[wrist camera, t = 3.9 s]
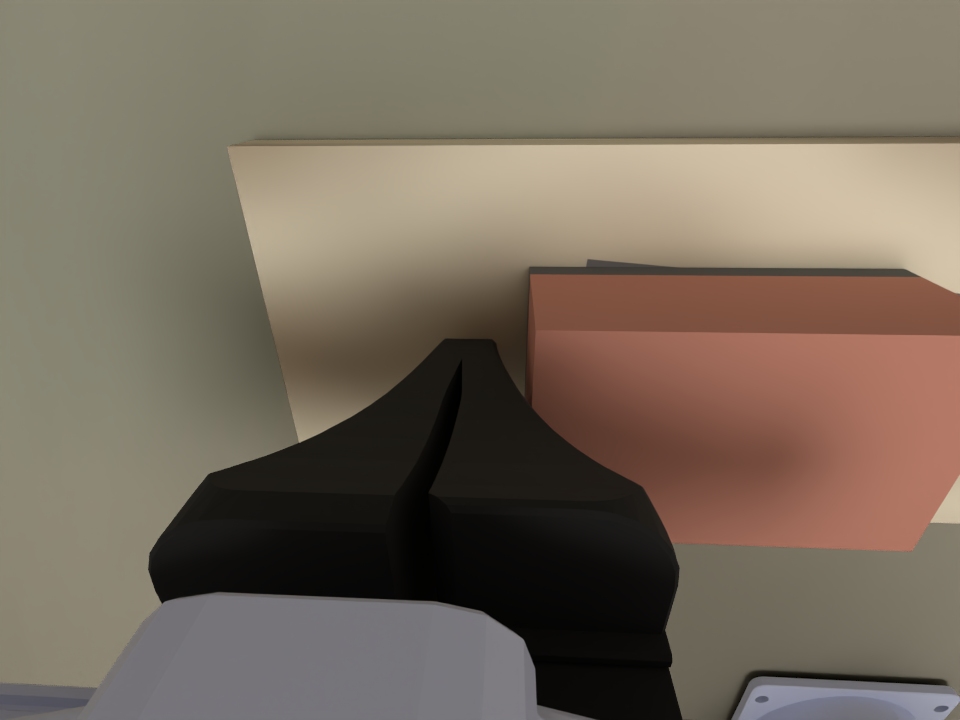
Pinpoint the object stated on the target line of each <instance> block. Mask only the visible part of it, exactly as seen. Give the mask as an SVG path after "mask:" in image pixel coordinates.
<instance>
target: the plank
mask: <svg viewBox="0 0 960 720" xmlns="http://www.w3.org/2000/svg"><path fill="white" fill-rule="evenodd" d="M227 148H228V152H229V156H230V161H231V165H232V169H233V173H234V177H235V181H236V185H237V189H238V193H239V198H240V202H241V206H242V210H243V214H244V218H245V222H246V226H247V230H248V235H249V239H250V243H251V247H252V251H253V255H254V259H255V263H256V267H257V272H258V276H259V280H260V284H261V288H262V292H263V296H264V300H265V304H266V309H267V313H268V317H269V321H270V325H271V329H272V333H273V337H274V341H275V346H276V350H277V354H278V358H279V362H280V366H281V370H282V374H283V378H284V383H285V387H286V391H287V395H288V399H289V403H290V407H291V411H292V415H293V420H294V424H295V428H296V432H297V436H298V440H299V443H300V442H302V441H304V440H307V439H309V438H311V437H313V436H315V435H318V434H320V433H322V432H323V431H325V430H327V429H329V428H331V427H333V426H335V425H337V424H339V423H340V422H342V421H344V420H346V419H348V418H350V417H352V416H353V415H355V414H357V413H358V412H360V411H361V410H363V409H364V408H366V407H367V406H369V405H371V404H372V403H374V402H375V401H376V400H378V399H379V398H381V397H382V396H383V395H385V394H386V393H387V392H389V391H390V390H391V389H392V388H393V387H394V386H396V385H397V384H398V383H399V382H400V381H402V380H403V379H404V378H405V377H406V376H407V375H408V374H410V373H411V372H412V371H413V370H414V369H415V368H416V367H417V366H418V365H419V364H420V363H421V362H422V361H423V360H424V359H425V358H426V357H427V356H428V355H429V354H430V353H431V352H432V351H433V350H434V349H435V348H436V347H437V346H438V345H439V344H440V343H441V342H442V341H443V340H444V339H445V338H449V339H493V340H494V341H495V342H496V343H497V349H498V352H499V355H500V358H501V360H502V362H503V364H504V366H505V368H506V370H507V372H508V373H509V375H510V377H511V378H512V380H513V382H514V383H515V385H516V386H517V388H518V389H519V391H520V392H521V394H522V395H523V396H524V394H525V368H526V342H527V316H528V291H529V267H674V268H839V269H906V270H908V271H910V272H912V273H914V274H916V275H918V276H921V277H923V278H925V279H927V280H929V281H931V282H933V283H935V284H937V285H939V286H941V287H943V288H945V289H947V290H950V291H952V292H954V293H956V294H958V295H960V137H804V138H583V139H363V140H251V141H247V142H243V143H239V144H235V145H230V146H227ZM930 522H931V523H960V475H959V476H958V478H957V480H956V481H955V483H954V485H953V486H952V488H951V489H950V491H949V493H948V494H947V496H946V497H945V499H944V501H943V502H942V504H941V505H940V507H939V509H938V510H937V512H936V513H935V515H934V517H933V518H932V520H931V521H930Z"/></svg>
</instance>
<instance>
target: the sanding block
mask: <svg viewBox="0 0 960 720" xmlns="http://www.w3.org/2000/svg"><path fill="white" fill-rule="evenodd" d="M524 398H525V399H526V401H527V402H528V403H529V404H530V406H531V407H532V408H533V409H534V410H535V412H536V413H537V414H538V415H539V416H540V417H541V418H542V419H543V420H544V421H545V422H546V423H547V424H548V425H549V426H550V427H551V428H552V429H553V430H554V431H555V432H556V433H558V434H559V435H560V436H561V437H563V438H564V439H565V440H566V441H567V442H569V443H570V444H571V445H573V446H574V447H575V448H577V449H578V450H579V451H581V452H582V453H584V454H585V455H587V456H589V457H590V458H592V459H593V460H595V461H596V462H598V463H599V464H601V465H603V466H604V467H606V468H608V469H610V470H612V471H614V472H616V473H618V474H620V475H622V476H623V477H625V478H627V479H629V480H631V481H633V482H635V483H637V484H639V485H641V486H642V487H643V488H644V490H645V491H646V493H647V495H648V497H649V498H650V500H651V502H652V504H653V506H654V507H655V509H656V511H657V513H658V515H659V517H660V519H661V521H662V523H663V525H664V527H665V529H666V531H667V533H668V535H669V538H670V540H671V543H688V544H716V545H744V546H773V547H801V548H830V549H858V550H886V551H912V550H913V549H914V547H915V545H916V544H917V542H918V541H919V539H920V537H921V536H922V534H923V533H924V531H925V529H926V528H927V526H928V525H929V523H930V521H931V520H932V518H933V517H934V515H935V513H936V512H937V510H938V509H939V507H940V505H941V504H942V502H943V501H944V499H945V497H946V496H947V494H948V493H949V491H950V489H951V488H952V486H953V485H954V483H955V481H956V480H957V478H958V476H959V475H960V295H958V294H956V293H954V292H952V291H950V290H947V289H945V288H943V287H941V286H939V285H937V284H935V283H933V282H931V281H929V280H927V279H925V278H923V277H921V276H918V275H916V274H914V273H912V272H910V271H908V270H906V269H839V268H674V267H529V291H528V316H527V342H526V368H525V394H524Z"/></svg>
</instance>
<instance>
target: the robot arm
mask: <svg viewBox="0 0 960 720" xmlns="http://www.w3.org/2000/svg"><path fill="white" fill-rule="evenodd" d="M148 570H149V573H150V576H151V579H152V582H153V585H154V588H155V591H156V593H157V595H158V597H159V599H160V601H161V603H162V605H161V606H160V607H158V608H157V609H156V610H155V611H154V612H153V613H152V614H151V615H150V616H149V617H148V618H146V619H145V620H144V621H143V622H142V624H141V625H140V627H139V628H138V629H137V631H136V632H135V634H134V635H133V637H132V638H131V640H130V641H129V643H128V644H127V646H126V647H125V649H124V650H123V652H122V653H121V655H120V656H119V657H118V659H117V660H116V662H115V663H114V665H113V666H112V668H111V669H110V671H109V672H108V674H107V675H106V677H105V678H104V680H103V681H102V683H101V684H100V686H99V687H98V688H92V687H73V686H55V685H36V684H18V683H0V720H685V719H682V716H681V712H680V709H679V705H678V701H677V697H676V694H675V690H674V686H673V683H672V679H671V675H670V671H669V668H668V667H671V664H672V653H671V649H670V646H669V642H668V639H667V635H666V632H665V629H666V625H667V622H668V618H669V615H670V611H671V608H672V605H673V601H674V598H675V594H676V591H677V587H678V580H679V565H678V562H677V559H676V555H675V552H674V549H673V546H672V543H671V540H670V538H669V535H668V533H667V531H666V529H665V527H664V525H663V523H662V521H661V519H660V517H659V515H658V513H657V511H656V509H655V507H654V506H653V504H652V502H651V500H650V498H649V497H648V495H647V493H646V491H645V490H644V488H643V487H642V486H641V485H639V484H637V483H635V482H633V481H631V480H629V479H627V478H625V477H623V476H622V475H620V474H618V473H616V472H614V471H612V470H610V469H608V468H606V467H604V466H603V465H601V464H599V463H598V462H596V461H595V460H593V459H592V458H590V457H589V456H587V455H585V454H584V453H582V452H581V451H579V450H578V449H577V448H575V447H574V446H573V445H571V444H570V443H569V442H567V441H566V440H565V439H564V438H563V437H561V436H560V435H559V434H558V433H556V432H555V431H554V430H553V429H552V428H551V427H550V426H549V425H548V424H547V423H546V422H545V421H544V420H543V419H542V418H541V417H540V416H539V415H538V414H537V413H536V412H535V410H534V409H533V408H532V407H531V406H530V404H529V403H528V402H527V401H526V399H525V398H524V396H523V395H522V394H521V392H520V391H519V389H518V388H517V386H516V385H515V383H514V382H513V380H512V378H511V377H510V375H509V373H508V372H507V370H506V368H505V366H504V364H503V362H502V360H501V358H500V355H499V352H498V349H497V343H496V342H495V341H494V340H493V339H449V338H445V339H444V340H443V341H442V342H441V343H440V344H439V345H438V346H437V347H436V348H435V349H434V350H433V351H432V352H431V353H430V354H429V355H428V356H427V357H426V358H425V359H424V360H423V361H422V362H421V363H420V364H419V365H418V366H417V367H416V368H415V369H414V370H413V371H412V372H411V373H410V374H408V375H407V376H406V377H405V378H404V379H403V380H402V381H400V382H399V383H398V384H397V385H396V386H394V387H393V388H392V389H391V390H390V391H389V392H387V393H386V394H385V395H383V396H382V397H381V398H379V399H378V400H376V401H375V402H374V403H372V404H371V405H369V406H367V407H366V408H364V409H363V410H361V411H360V412H358V413H357V414H355V415H353V416H352V417H350V418H348V419H346V420H344V421H342V422H340V423H339V424H337V425H335V426H333V427H331V428H329V429H327V430H325V431H323V432H322V433H320V434H318V435H315V436H313V437H311V438H309V439H307V440H304V441H302V442H300V443H298V444H295V445H293V446H290V447H288V448H285V449H283V450H280V451H278V452H275V453H272V454H270V455H267V456H264V457H261V458H258V459H255V460H252V461H249V462H245V463H242V464H239V465H236V466H233V467H230V468H227V469H224V470H220V471H217V472H213V473H210V474H209V475H208V476H207V477H206V478H205V479H204V480H203V482H202V483H201V484H200V485H199V487H198V488H197V489H196V490H195V492H194V493H193V494H192V496H191V497H190V498H189V499H188V501H187V502H186V503H185V505H184V506H183V507H182V509H181V510H180V511H179V513H178V514H177V515H176V517H175V518H174V519H173V520H172V522H171V523H170V524H169V526H168V527H167V528H166V530H165V531H164V532H163V534H162V535H161V536H160V538H159V539H158V540H157V542H156V544H155V545H154V547H153V549H152V550H151V552H150V555H149V567H148ZM959 702H960V697H959V696H958V694H957V693H956V691H955V690H954V689H953V688H951V687H949V686H944V685H924V684H905V683H885V682H865V681H845V680H825V679H805V678H785V677H766V676H762V677H756V678H754V679H752V680H751V681H750V682H749V684H748V686H747V688H746V690H745V692H744V695H743V697H742V699H741V701H740V703H739V705H738V707H737V709H736V711H735V713H734V715H733V717H732V720H944V719H945V718H946V717H947V716H948V714H949V713H950V712H951V711H952V710H953V709H954V708H955V707H956V706H957V704H958V703H959Z"/></svg>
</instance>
